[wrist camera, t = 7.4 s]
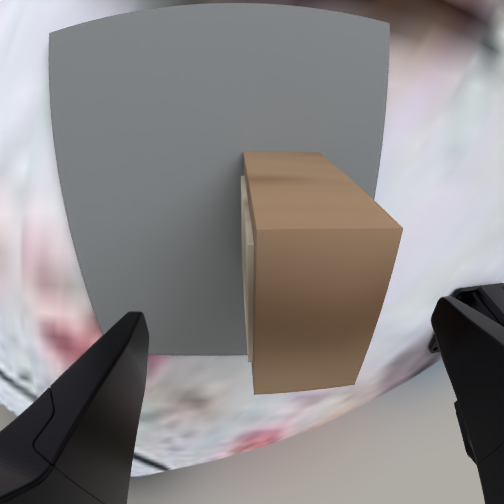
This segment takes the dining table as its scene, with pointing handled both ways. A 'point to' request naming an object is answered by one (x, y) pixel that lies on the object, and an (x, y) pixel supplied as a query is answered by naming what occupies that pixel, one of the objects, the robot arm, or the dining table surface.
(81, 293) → the dining table surface
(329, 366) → the block
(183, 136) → the mat
